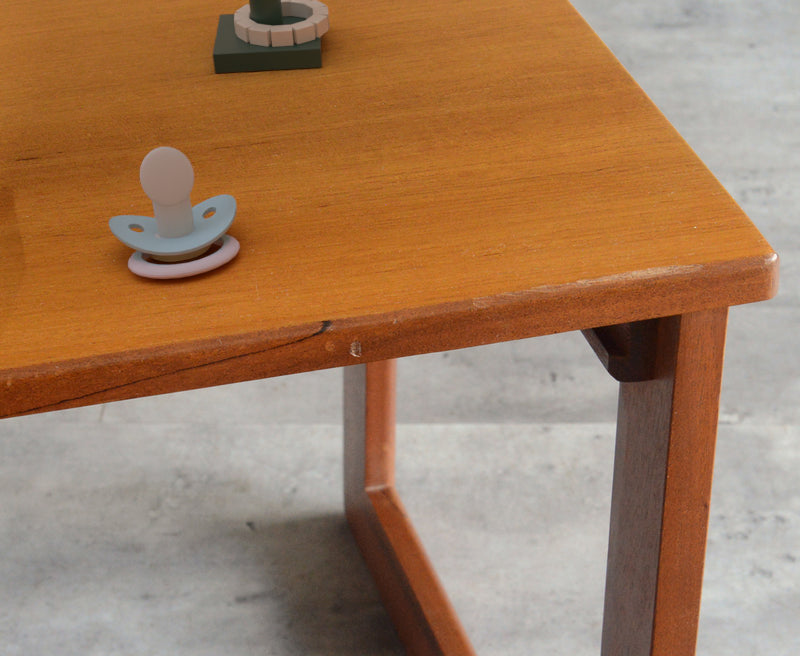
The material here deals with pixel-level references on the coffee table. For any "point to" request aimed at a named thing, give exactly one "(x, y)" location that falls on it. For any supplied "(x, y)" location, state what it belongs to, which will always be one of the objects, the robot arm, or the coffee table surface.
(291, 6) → the ring
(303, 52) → the stand
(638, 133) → the coffee table surface
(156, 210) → the pacifier
